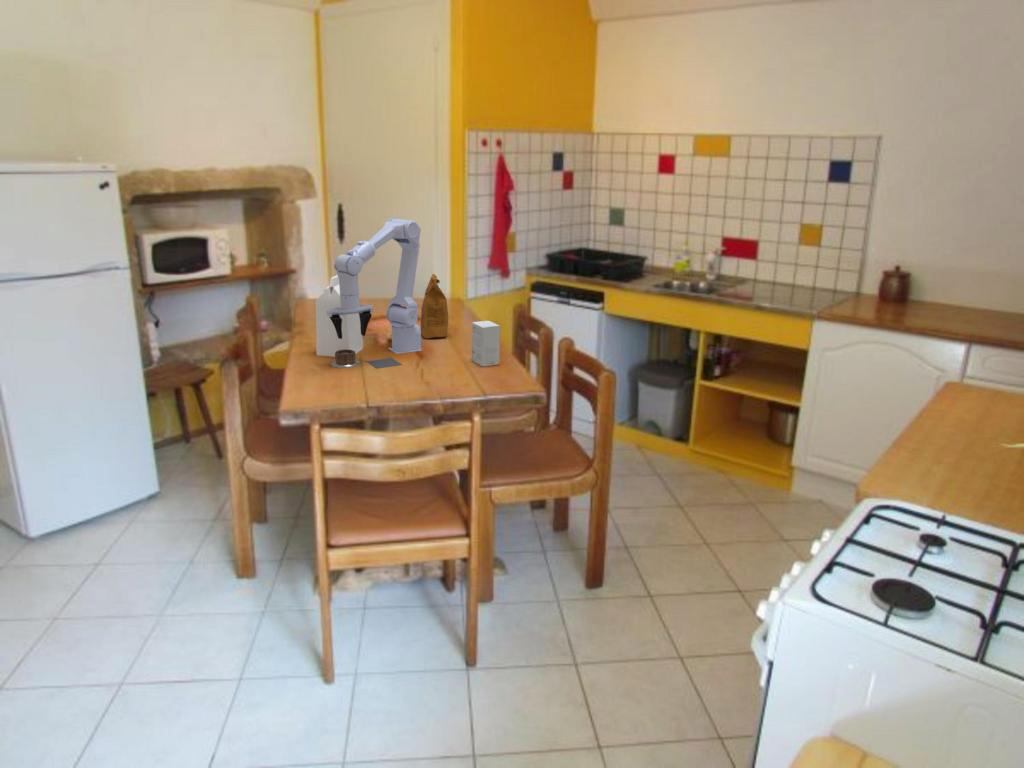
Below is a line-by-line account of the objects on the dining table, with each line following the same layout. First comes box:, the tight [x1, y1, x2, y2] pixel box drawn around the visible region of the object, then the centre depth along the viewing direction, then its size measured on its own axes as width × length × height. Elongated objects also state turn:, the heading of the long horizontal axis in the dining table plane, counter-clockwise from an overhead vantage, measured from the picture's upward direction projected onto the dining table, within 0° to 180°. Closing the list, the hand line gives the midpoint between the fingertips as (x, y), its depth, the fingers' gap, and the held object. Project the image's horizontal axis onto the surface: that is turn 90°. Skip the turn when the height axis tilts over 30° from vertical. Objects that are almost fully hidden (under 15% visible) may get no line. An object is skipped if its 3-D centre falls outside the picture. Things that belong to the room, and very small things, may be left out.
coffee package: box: [420, 273, 449, 339], centre depth 273 cm, size 10×12×22 cm
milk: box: [315, 274, 364, 358], centre depth 247 cm, size 12×12×26 cm
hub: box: [330, 352, 361, 369], centre depth 237 cm, size 9×9×4 cm
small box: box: [471, 320, 501, 367], centre depth 242 cm, size 8×6×13 cm
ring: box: [334, 349, 356, 365], centre depth 237 cm, size 6×6×4 cm
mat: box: [365, 357, 403, 370], centre depth 239 cm, size 9×9×1 cm
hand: (351, 336), depth 235 cm, fingers open, 7 cm apart
